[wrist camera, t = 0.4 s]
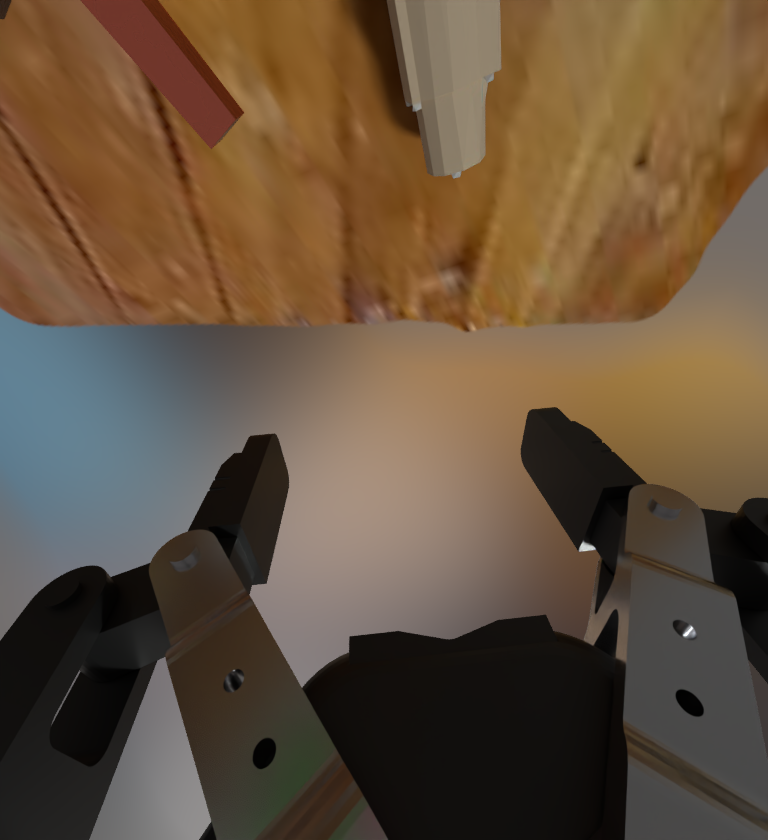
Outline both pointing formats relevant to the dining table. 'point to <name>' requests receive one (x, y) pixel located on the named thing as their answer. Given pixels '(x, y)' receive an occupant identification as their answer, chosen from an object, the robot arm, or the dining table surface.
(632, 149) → the dining table surface
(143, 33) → the valve lever
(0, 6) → the pipe valve
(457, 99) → the butterfly valve
